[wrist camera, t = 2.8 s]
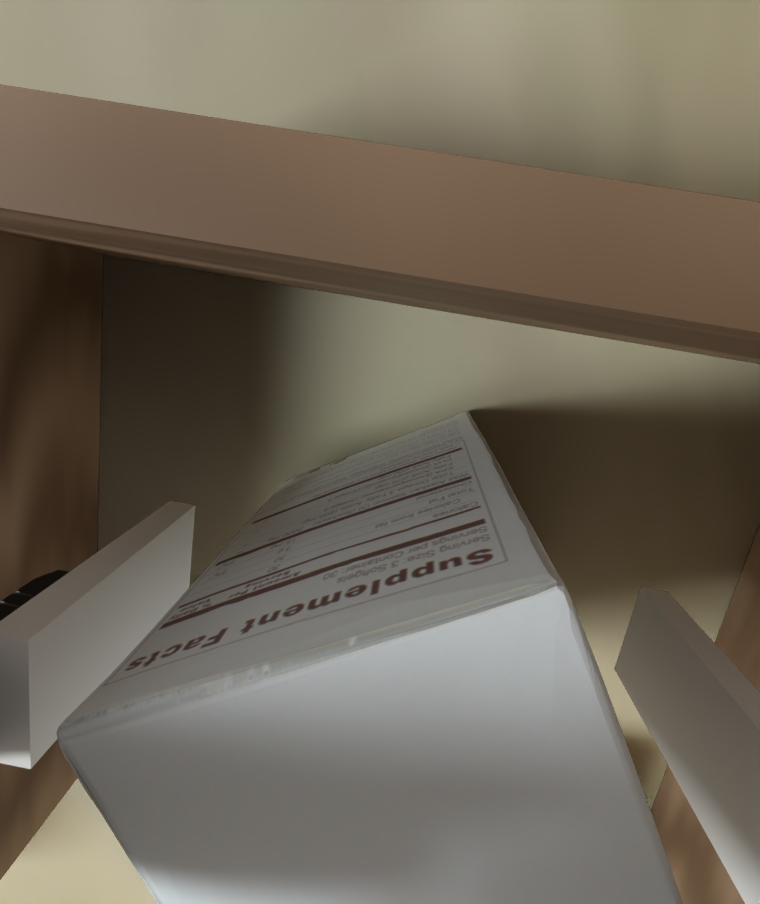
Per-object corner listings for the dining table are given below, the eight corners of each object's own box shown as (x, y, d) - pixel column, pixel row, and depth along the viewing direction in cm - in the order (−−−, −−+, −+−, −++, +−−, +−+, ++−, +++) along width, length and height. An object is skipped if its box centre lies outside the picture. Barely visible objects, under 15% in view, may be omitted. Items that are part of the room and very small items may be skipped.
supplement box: (537, 585, 19) (737, 1042, 7) (355, 639, 20) (257, 1112, 8) (472, 402, 18) (584, 578, 6) (280, 472, 19) (24, 746, 7)
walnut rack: (69, 211, 17) (-660, -18, 6) (869, 342, 16) (1985, 392, 5) (66, 752, 23) (-296, 1191, 11) (657, 872, 22) (920, 1484, 10)
